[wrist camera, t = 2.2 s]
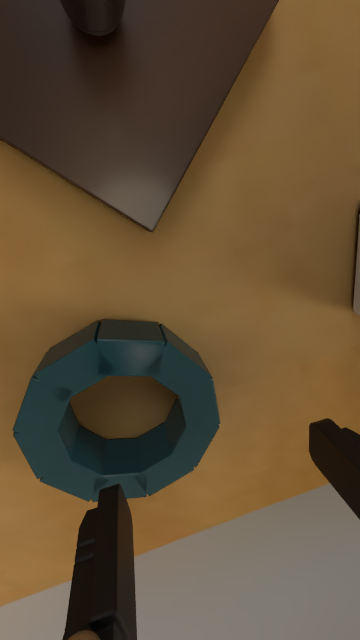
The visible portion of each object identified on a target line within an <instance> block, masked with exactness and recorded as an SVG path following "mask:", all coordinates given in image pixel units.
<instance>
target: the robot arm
mask: <svg viewBox="0 0 360 640" xmlns="http://www.w3.org/2000/svg"><path fill="white" fill-rule="evenodd" d="M309 452H310V455H311V458H312V460H313V462H314V463H315V465H316V466H317V467H318V469H319V470H320V471H321V472H322V474H323V475H324V476H325V477H326V479H327V480H328V481H329V482H330V483H331V485H332V486H333V487H334V488H335V490H336V491H337V492H338V493H339V495H340V496H341V497H342V498H343V499H344V501H345V502H346V503H347V504H348V506H349V507H350V508H351V509H352V510H353V512H354V513H355V514H356V515H357V517H358V518H359V519H360V435H359V434H358V433H356V432H354V431H352V430H350V429H348V428H346V427H345V428H342V429H341V428H340V427H339V426H338V425H336V424H335V423H334V422H333V421H332V420H331V419H328V418H326V419H323V420H320V421H317V422H313V423H311V424H310V425H309ZM63 640H137V628H136V601H135V575H134V549H133V525H132V517H131V512H130V508H129V505H128V503H127V500H126V497H125V495H124V492H123V489H122V487H121V484H120V483H119V484H115V485H112V486H109V487H106V488H103V489H100V491H99V496H98V507H97V508H94V509H91V510H88V511H87V512H86V514H85V517H84V519H83V521H82V523H81V525H80V527H79V533H78V541H77V549H76V555H75V565H74V570H73V577H72V584H71V591H70V599H69V606H68V613H67V621H66V628H65V633H64V636H63Z"/></svg>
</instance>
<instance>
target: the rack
mask: <svg viewBox="0 0 360 640" xmlns="http://www.w3.org/2000/svg"><path fill="white" fill-rule="evenodd" d="M278 1H279V0H0V139H1V140H2V141H4V142H5V143H7V144H9V145H10V146H12V147H14V148H15V149H17V150H18V151H20V152H22V153H23V154H25V155H26V156H28V157H30V158H31V159H33V160H34V161H36V162H38V163H39V164H41V165H42V166H44V167H46V168H47V169H49V170H51V171H52V172H54V173H55V174H57V175H59V176H60V177H62V178H63V179H65V180H67V181H68V182H70V183H71V184H73V185H75V186H76V187H78V188H80V189H81V190H83V191H84V192H86V193H88V194H89V195H91V196H92V197H94V198H96V199H97V200H99V201H100V202H102V203H104V204H105V205H107V206H108V207H110V208H112V209H113V210H115V211H117V212H118V213H120V214H121V215H123V216H125V217H126V218H128V219H129V220H131V221H133V222H134V223H136V224H137V225H139V226H141V227H142V228H144V229H145V230H147V231H149V232H153V231H154V229H155V228H156V226H157V224H158V222H159V220H160V218H161V217H162V215H163V213H164V211H165V209H166V207H167V206H168V204H169V202H170V200H171V198H172V196H173V195H174V193H175V191H176V189H177V187H178V185H179V183H180V182H181V180H182V178H183V176H184V174H185V172H186V171H187V169H188V167H189V165H190V163H191V161H192V160H193V158H194V156H195V154H196V152H197V150H198V149H199V147H200V145H201V143H202V141H203V139H204V137H205V136H206V134H207V132H208V130H209V128H210V126H211V125H212V123H213V121H214V119H215V117H216V115H217V114H218V112H219V110H220V108H221V106H222V104H223V103H224V101H225V99H226V97H227V95H228V93H229V92H230V90H231V88H232V86H233V84H234V82H235V80H236V79H237V77H238V75H239V73H240V71H241V69H242V68H243V66H244V64H245V62H246V60H247V58H248V57H249V55H250V53H251V51H252V49H253V47H254V46H255V44H256V42H257V40H258V38H259V36H260V34H261V33H262V31H263V29H264V27H265V25H266V23H267V22H268V20H269V18H270V16H271V14H272V12H273V11H274V9H275V7H276V5H277V3H278Z"/></svg>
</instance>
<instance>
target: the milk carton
mask: <svg viewBox="0 0 360 640" xmlns="http://www.w3.org/2000/svg"><path fill="white" fill-rule="evenodd" d="M353 312H354V313H355V314H357V315H360V216H359V231H358V245H357V260H356V274H355V289H354V304H353Z"/></svg>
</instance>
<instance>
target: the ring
mask: <svg viewBox="0 0 360 640" xmlns="http://www.w3.org/2000/svg"><path fill="white" fill-rule="evenodd" d="M107 376H150V377H152V378H153V379H155V380H156V381H158V382H159V383H161V384H162V385H164V386H165V387H166V388H168V389H169V390H171V391H172V392H174V393H175V394H176V395H177V399H176V401H175V403H174V405H173V407H172V409H171V411H170V413H169V415H168V416H167V418H166V420H165V422H164V423H162V424H160V425H159V426H157V427H155V428H154V429H152V430H150V431H149V432H147V433H145V434H144V435H142V436H140V437H139V438H131V439H109V440H106V439H104V438H102V437H100V436H98V435H97V434H95V433H93V432H91V431H89V430H87V429H85V428H83V427H81V426H80V425H79V424H78V422H77V420H76V417H75V415H74V412H73V410H72V408H71V405H70V403H69V402H70V399H71V397H73V396H75V395H76V394H78V393H80V392H81V391H83V390H85V389H86V388H88V387H90V386H91V385H93V384H95V383H97V382H98V381H100V380H102V379H103V378H105V377H107ZM218 424H220V419H219V413H218V406H217V400H216V394H215V388H214V382H213V378H212V376H211V375H210V373H209V371H208V369H207V368H206V366H205V364H204V363H203V361H202V359H201V357H200V356H199V354H198V353H197V352H196V351H195V350H194V349H192V348H191V347H190V346H189V345H187V344H186V343H185V342H184V341H182V340H181V339H180V338H179V337H178V336H176V335H175V334H174V333H173V332H171V331H170V330H169V329H168V328H166V327H165V326H164V325H163V324H160V325H159V324H158V322H144V321H125V320H106V319H102V320H101V323H100V321H98V320H97V321H96V322H94V323H92V324H91V325H89V326H87V327H85V328H84V329H82V330H80V331H79V332H77V333H75V334H74V335H72V336H70V337H69V338H67V339H65V340H63V341H62V342H60V343H58V344H57V345H55V346H53V347H52V348H50V349H49V351H48V352H47V353H46V354H45V356H44V357H43V359H42V361H41V362H40V364H39V366H38V367H37V369H36V371H35V372H34V374H33V375H32V377H31V379H30V382H29V385H28V388H27V391H26V393H25V396H24V399H23V402H22V405H21V408H20V410H19V413H18V416H17V419H16V422H15V425H14V427H13V431H14V433H13V436H14V438H15V439H16V441H17V443H18V445H19V447H20V449H21V450H22V452H23V454H24V456H25V458H26V460H27V461H28V463H29V465H30V467H31V469H32V471H33V472H34V474H35V476H36V478H37V479H39V478H40V482H43V483H45V484H47V485H50V486H52V487H55V488H57V489H59V490H62V491H64V492H67V493H69V494H71V495H74V496H76V497H79V498H81V499H84V500H86V501H90V500H91V499H92V501H93V502H97V501H98V496H99V491H100V489H103V488H106V487H109V486H112V485H115V484H119V483H120V484H121V487H122V489H123V492H124V495H125V497H126V499H128V498H139V497H146V496H147V494H148V495H149V496H151V495H152V494H154V493H156V492H157V491H159V490H161V489H162V488H164V487H166V486H167V485H169V484H171V483H173V482H174V481H176V480H178V479H179V478H181V477H183V476H184V475H186V474H188V473H189V472H191V471H193V470H194V467H197V465H198V463H199V462H200V460H201V458H202V456H203V455H204V453H205V451H206V449H207V448H208V446H209V444H210V442H211V441H212V439H213V437H214V435H215V434H216V432H217V430H218V429H219V425H218Z"/></svg>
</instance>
